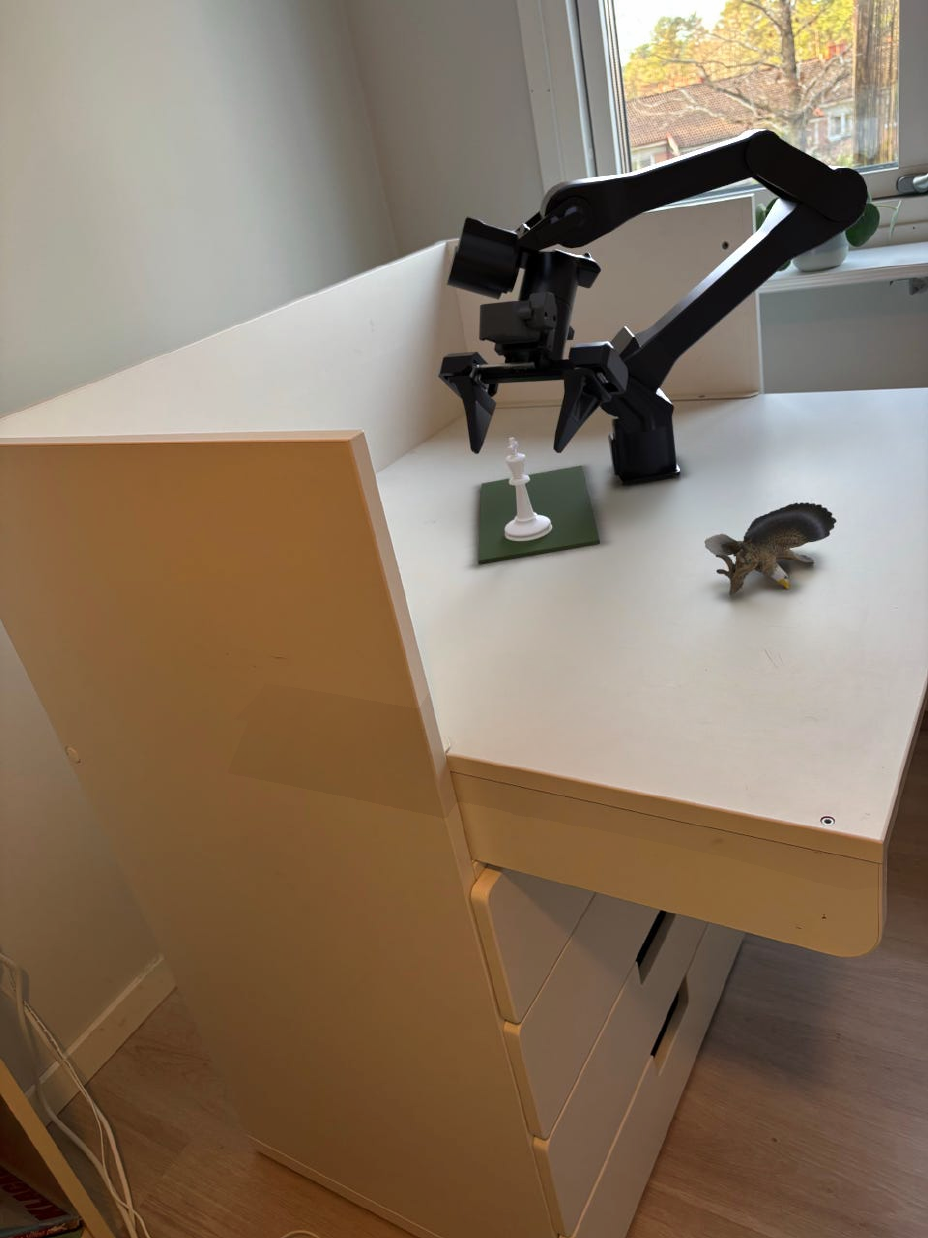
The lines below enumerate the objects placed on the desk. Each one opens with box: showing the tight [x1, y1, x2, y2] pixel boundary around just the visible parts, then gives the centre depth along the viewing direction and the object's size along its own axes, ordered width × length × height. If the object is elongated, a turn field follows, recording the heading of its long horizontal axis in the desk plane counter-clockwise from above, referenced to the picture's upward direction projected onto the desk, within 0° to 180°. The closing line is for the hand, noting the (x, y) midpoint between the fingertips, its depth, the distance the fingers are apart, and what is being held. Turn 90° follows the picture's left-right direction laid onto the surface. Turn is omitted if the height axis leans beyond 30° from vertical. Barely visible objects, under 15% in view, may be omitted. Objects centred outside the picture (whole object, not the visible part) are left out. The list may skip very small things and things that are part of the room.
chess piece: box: [504, 437, 552, 541], centre depth 93 cm, size 5×5×10 cm
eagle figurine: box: [703, 502, 838, 597], centre depth 76 cm, size 8×7×9 cm
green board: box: [477, 465, 601, 565], centre depth 100 cm, size 12×22×1 cm, turn 178°
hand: (514, 451), depth 91 cm, fingers open, 9 cm apart
